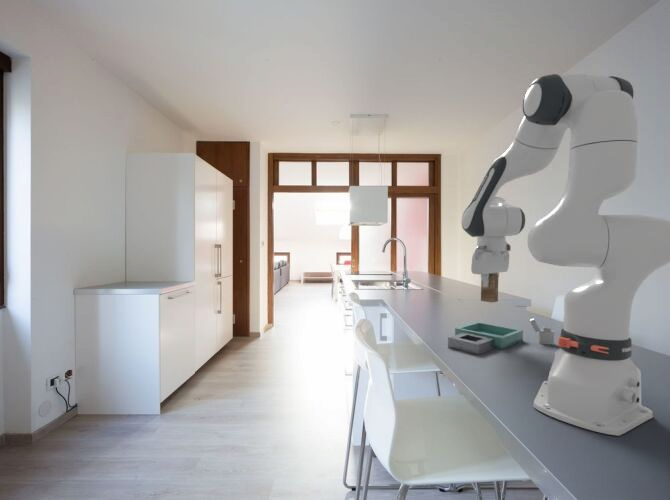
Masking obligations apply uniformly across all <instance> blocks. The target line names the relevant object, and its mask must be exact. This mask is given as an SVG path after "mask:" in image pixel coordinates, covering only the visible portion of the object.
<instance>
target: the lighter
mask: <svg viewBox="0 0 670 500" xmlns="http://www.w3.org/2000/svg"><path fill="white" fill-rule="evenodd" d="M528 320H529V322H530V324H531V326H532V328H533V330H534V332H535V333H537V332H538V343H539V344H540V343H541V344H542V345H550V344H552V345H551V346H554V345H555V331H554V330H552V328H550V327H544V326H543V327H542V329H540V328H539V326H538V324H537V322H536V320H535V318H534V317H533V318H530V319H528Z"/></svg>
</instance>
